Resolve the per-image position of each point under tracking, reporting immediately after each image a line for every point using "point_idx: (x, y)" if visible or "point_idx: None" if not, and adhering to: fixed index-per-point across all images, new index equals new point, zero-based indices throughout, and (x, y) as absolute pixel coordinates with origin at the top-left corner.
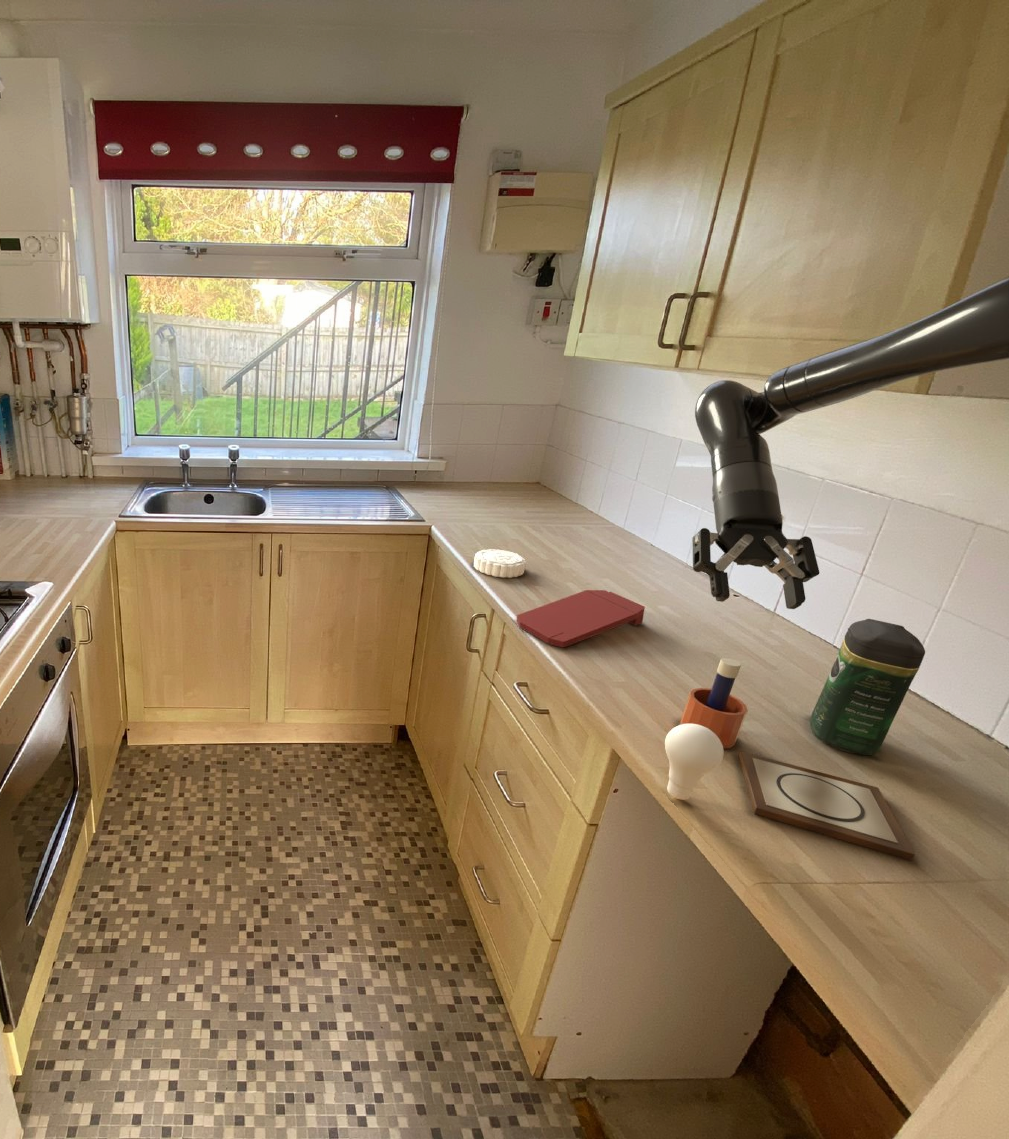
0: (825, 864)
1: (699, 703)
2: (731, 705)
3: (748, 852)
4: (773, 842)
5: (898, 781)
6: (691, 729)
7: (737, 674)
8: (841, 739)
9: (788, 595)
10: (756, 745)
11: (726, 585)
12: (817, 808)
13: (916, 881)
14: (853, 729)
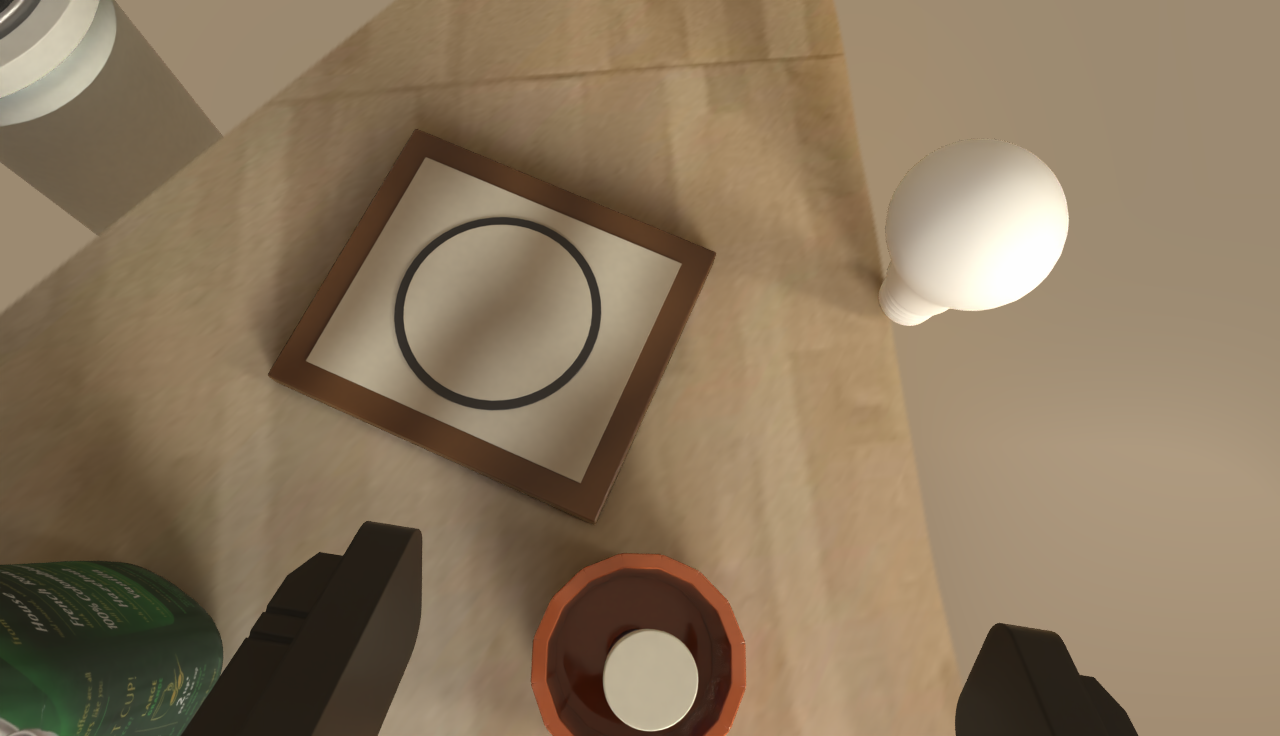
0: (644, 114)
1: (736, 629)
2: (553, 693)
3: (808, 134)
4: (725, 169)
5: (139, 448)
6: (1040, 184)
7: (617, 641)
8: (180, 598)
9: (375, 692)
10: (485, 603)
11: (1067, 714)
12: (546, 256)
13: (466, 85)
14: (131, 590)
